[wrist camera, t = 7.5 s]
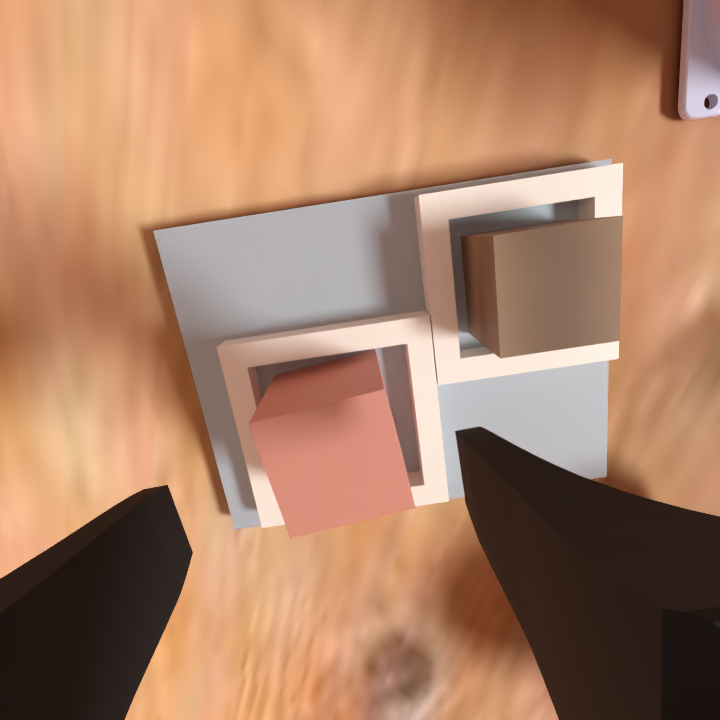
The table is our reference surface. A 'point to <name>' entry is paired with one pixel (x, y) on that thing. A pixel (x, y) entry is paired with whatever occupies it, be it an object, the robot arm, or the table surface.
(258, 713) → the table surface
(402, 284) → the board
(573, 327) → the walnut cube
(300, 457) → the brick-red block
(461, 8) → the table surface
